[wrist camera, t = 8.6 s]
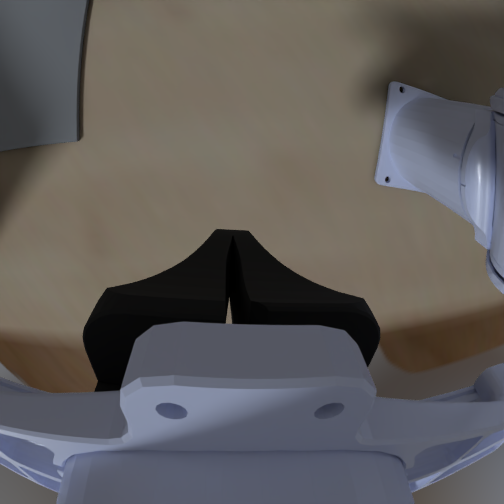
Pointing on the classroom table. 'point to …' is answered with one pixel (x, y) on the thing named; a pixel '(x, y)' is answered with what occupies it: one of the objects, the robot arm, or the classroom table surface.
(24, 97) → the mat
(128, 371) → the robot arm
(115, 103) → the classroom table surface
